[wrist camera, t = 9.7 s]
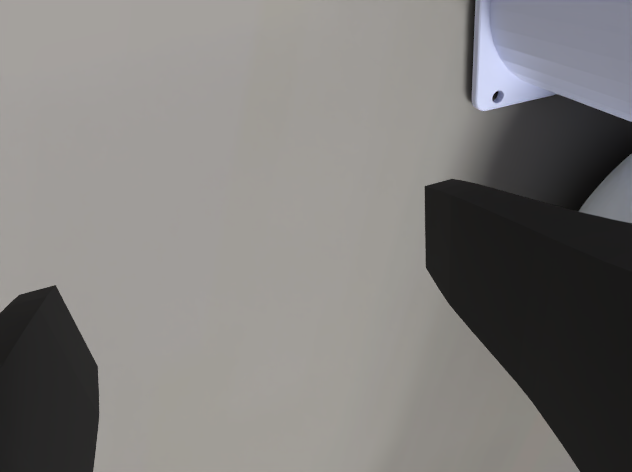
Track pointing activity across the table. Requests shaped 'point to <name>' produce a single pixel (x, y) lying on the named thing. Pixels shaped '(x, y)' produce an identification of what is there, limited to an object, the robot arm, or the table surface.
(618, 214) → the serving bowl
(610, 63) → the robot arm
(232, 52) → the table surface
